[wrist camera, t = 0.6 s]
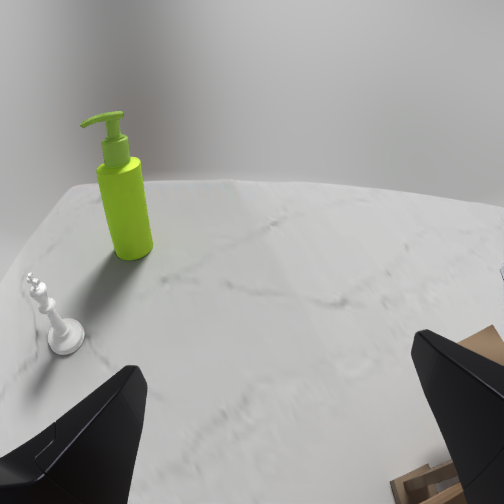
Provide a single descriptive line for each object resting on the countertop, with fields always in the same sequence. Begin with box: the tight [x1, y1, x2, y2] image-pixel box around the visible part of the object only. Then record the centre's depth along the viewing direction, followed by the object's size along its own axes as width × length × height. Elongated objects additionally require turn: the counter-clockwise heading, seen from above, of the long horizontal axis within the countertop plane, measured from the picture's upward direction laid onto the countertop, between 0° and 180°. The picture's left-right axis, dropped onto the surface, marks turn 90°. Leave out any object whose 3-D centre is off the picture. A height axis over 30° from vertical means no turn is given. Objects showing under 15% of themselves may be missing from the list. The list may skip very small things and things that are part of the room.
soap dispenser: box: [80, 111, 153, 260], centre depth 35 cm, size 6×7×20 cm
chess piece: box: [26, 273, 85, 355], centre depth 25 cm, size 5×5×10 cm
